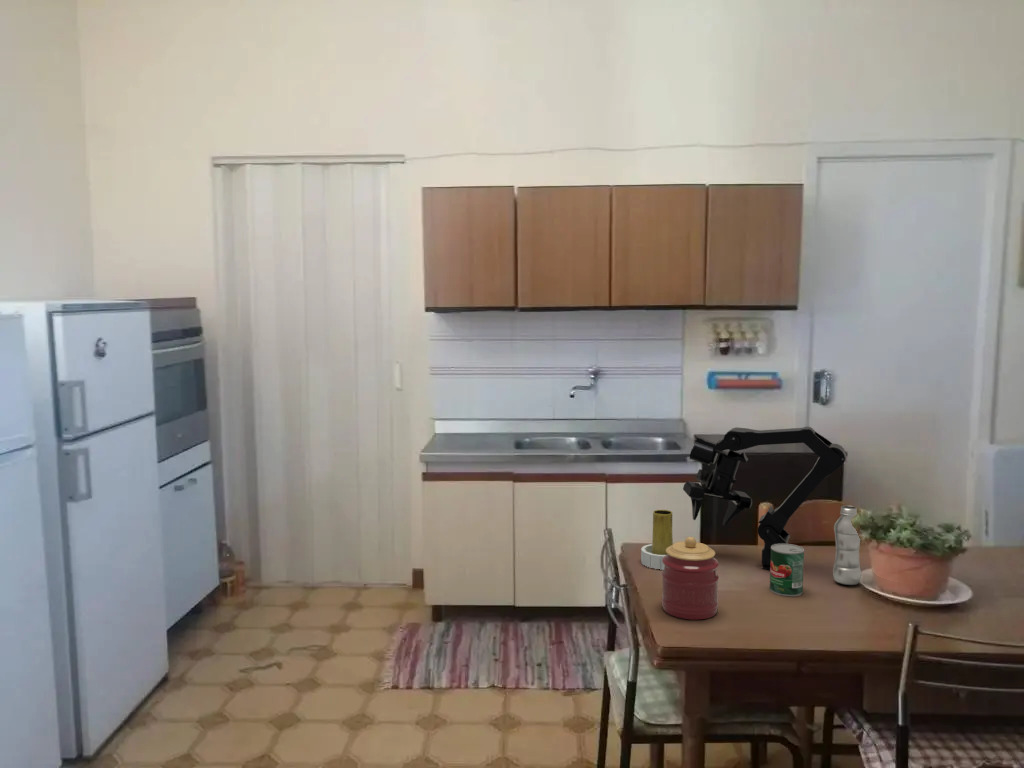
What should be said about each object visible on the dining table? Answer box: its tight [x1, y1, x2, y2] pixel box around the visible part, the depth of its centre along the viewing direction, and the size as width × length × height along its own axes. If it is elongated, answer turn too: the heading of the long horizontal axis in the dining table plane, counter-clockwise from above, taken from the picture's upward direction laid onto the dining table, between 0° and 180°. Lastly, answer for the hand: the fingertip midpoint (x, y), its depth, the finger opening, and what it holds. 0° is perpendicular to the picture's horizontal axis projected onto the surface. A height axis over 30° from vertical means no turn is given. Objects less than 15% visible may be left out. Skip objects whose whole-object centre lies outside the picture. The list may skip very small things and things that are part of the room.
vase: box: [651, 509, 674, 555], centre depth 212 cm, size 6×6×14 cm
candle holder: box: [640, 543, 666, 571], centre depth 212 cm, size 11×11×4 cm
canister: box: [661, 536, 720, 621], centre depth 179 cm, size 13×13×18 cm
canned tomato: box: [769, 543, 805, 597], centre depth 191 cm, size 8×8×11 cm
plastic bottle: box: [832, 505, 862, 586], centre depth 195 cm, size 6×7×20 cm
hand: (708, 522), depth 215 cm, fingers open, 9 cm apart
